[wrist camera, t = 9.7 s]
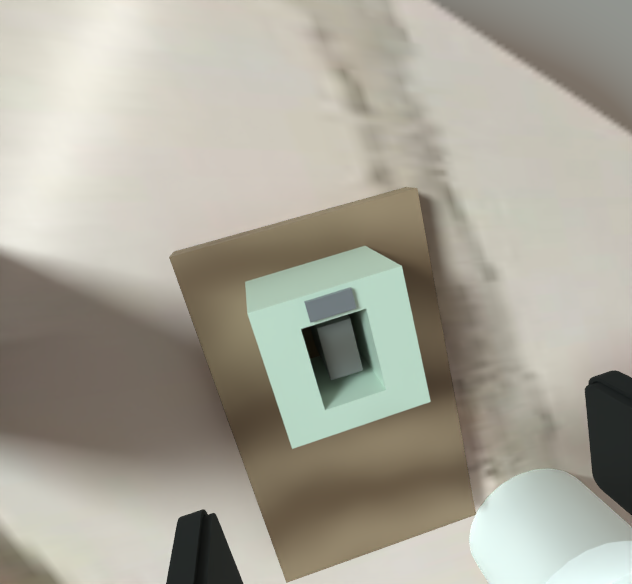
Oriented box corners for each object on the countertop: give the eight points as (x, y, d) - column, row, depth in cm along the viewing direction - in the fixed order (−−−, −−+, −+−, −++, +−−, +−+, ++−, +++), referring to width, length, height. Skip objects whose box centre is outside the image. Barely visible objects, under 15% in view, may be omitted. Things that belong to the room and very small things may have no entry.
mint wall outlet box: (390, 354, 23) (432, 404, 18) (280, 390, 22) (292, 451, 17) (364, 245, 21) (403, 266, 16) (245, 281, 21) (247, 314, 16)
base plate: (463, 497, 28) (515, 570, 23) (284, 561, 27) (295, 653, 22) (405, 187, 22) (457, 190, 17) (173, 251, 21) (152, 276, 16)
